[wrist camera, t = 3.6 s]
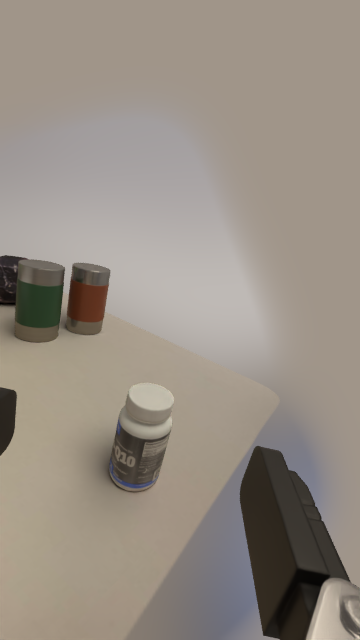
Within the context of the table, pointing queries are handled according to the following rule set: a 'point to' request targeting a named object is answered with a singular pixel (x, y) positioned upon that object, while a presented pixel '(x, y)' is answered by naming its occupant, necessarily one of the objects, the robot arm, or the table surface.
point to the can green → (38, 300)
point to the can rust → (87, 298)
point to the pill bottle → (141, 437)
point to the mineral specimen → (9, 278)
